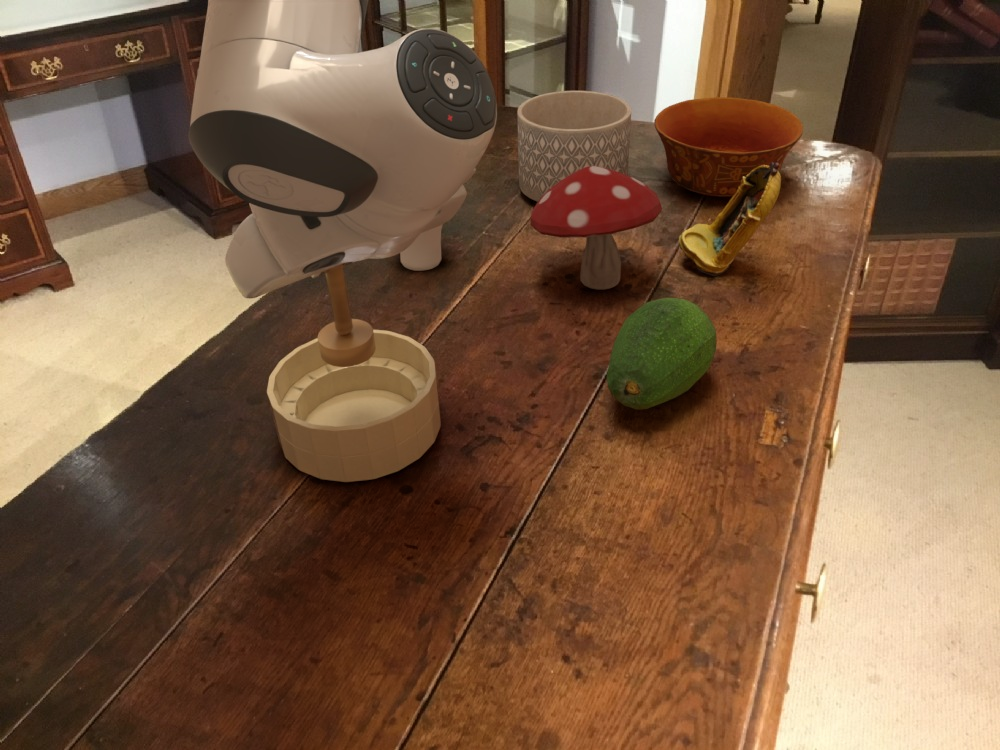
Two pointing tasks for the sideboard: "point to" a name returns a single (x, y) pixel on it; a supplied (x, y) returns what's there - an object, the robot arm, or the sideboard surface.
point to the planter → (570, 137)
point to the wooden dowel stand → (344, 328)
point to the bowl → (724, 141)
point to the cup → (423, 251)
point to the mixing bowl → (356, 409)
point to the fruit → (660, 352)
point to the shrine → (733, 222)
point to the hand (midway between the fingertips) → (329, 262)
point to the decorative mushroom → (596, 217)
